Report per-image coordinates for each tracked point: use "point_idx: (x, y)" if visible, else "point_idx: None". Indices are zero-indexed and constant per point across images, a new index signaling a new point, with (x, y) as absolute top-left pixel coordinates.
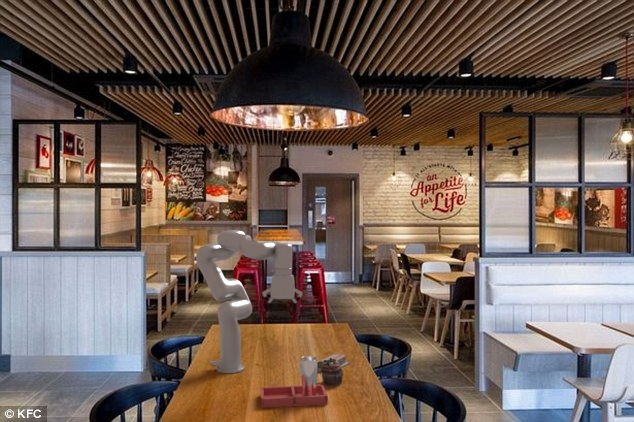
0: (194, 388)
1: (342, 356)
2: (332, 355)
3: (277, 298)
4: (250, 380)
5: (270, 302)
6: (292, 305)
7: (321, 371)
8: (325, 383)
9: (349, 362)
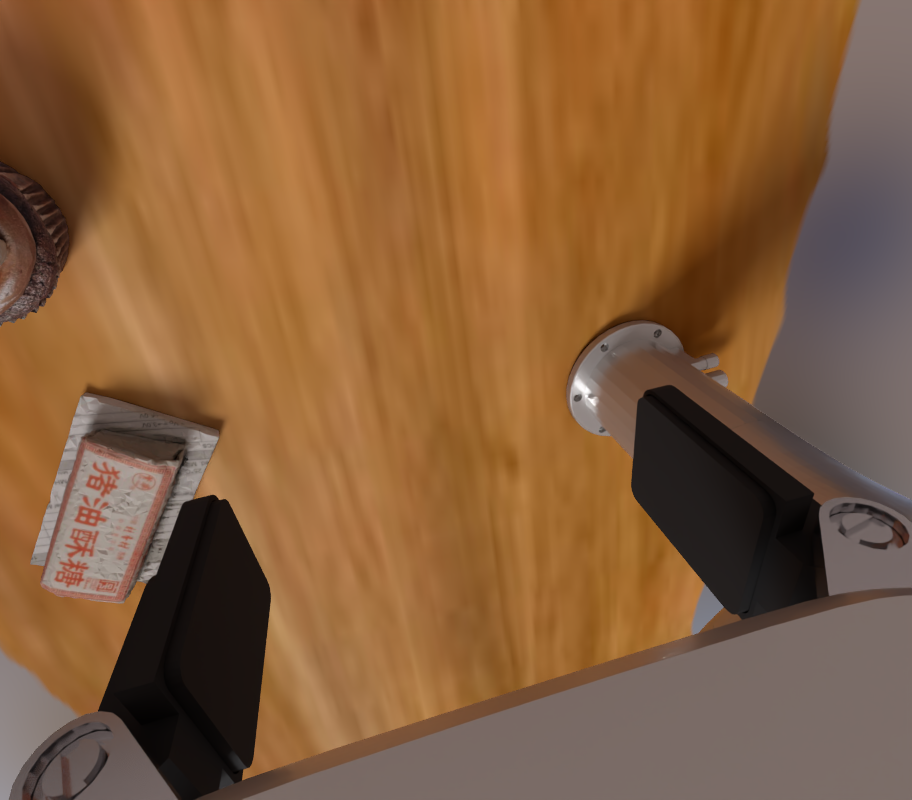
0: (790, 78)
1: (52, 571)
2: (122, 569)
3: (777, 627)
4: (525, 229)
5: (821, 515)
6: (246, 676)
7: (33, 211)
8: (27, 177)
9: (31, 562)
